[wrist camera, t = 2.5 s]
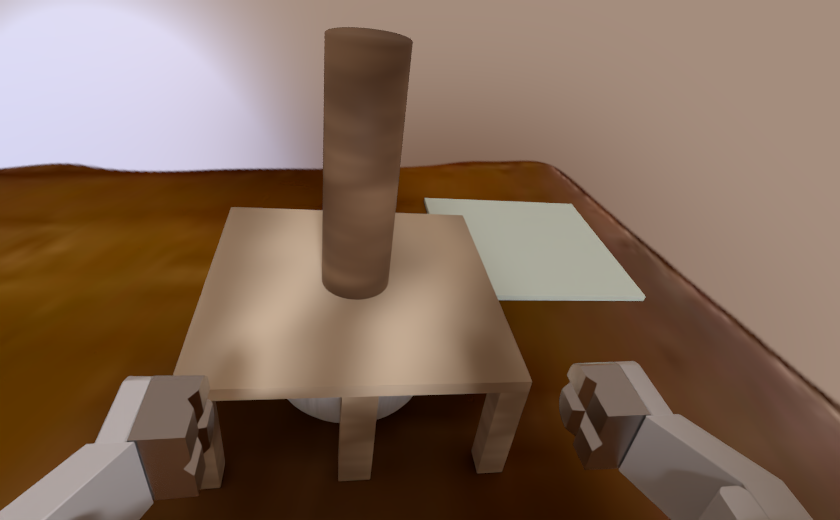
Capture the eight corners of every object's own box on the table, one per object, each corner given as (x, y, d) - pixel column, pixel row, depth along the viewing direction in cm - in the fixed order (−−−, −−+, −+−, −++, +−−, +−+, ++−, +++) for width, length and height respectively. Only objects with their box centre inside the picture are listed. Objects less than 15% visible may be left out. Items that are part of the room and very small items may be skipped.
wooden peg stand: (190, 489, 21) (94, 68, 12) (239, 290, 32) (210, -9, 23) (501, 472, 24) (624, 109, 14) (448, 292, 35) (498, 21, 26)
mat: (453, 299, 34) (454, 295, 34) (423, 202, 46) (424, 197, 45) (643, 300, 37) (645, 296, 36) (570, 207, 48) (571, 204, 48)
